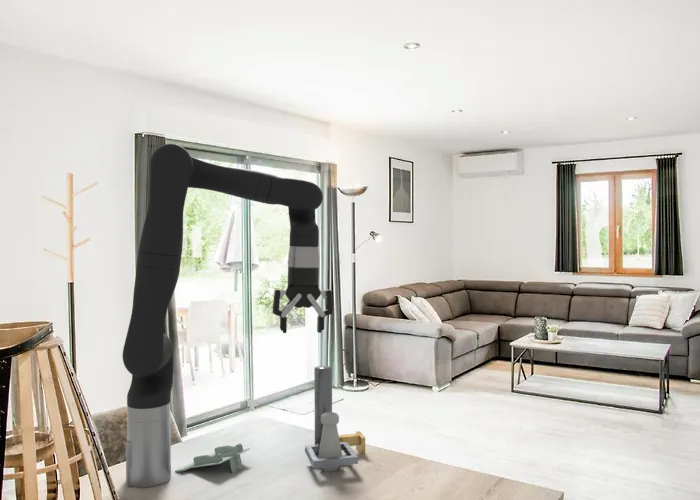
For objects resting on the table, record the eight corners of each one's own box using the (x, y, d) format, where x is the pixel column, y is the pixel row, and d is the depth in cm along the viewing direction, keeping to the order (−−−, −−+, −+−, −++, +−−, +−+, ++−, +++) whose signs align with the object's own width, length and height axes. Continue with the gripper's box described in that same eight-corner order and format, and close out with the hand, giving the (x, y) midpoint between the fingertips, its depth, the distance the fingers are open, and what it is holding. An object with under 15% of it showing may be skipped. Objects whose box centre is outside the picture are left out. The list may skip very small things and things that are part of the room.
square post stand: (313, 478, 130) (313, 381, 130) (300, 451, 147) (300, 365, 147) (378, 471, 134) (378, 377, 134) (358, 446, 151) (358, 362, 151)
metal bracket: (256, 437, 142) (214, 457, 129) (261, 461, 141) (219, 484, 128) (213, 444, 148) (169, 464, 135) (218, 467, 148) (174, 489, 134)
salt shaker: (332, 461, 141) (332, 408, 140) (347, 468, 136) (347, 413, 136) (313, 467, 137) (312, 413, 137) (327, 475, 132) (327, 418, 132)
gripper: (276, 265, 134) (274, 335, 134) (335, 266, 138) (334, 334, 138) (272, 264, 141) (270, 330, 142) (329, 265, 145) (327, 329, 145)
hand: (302, 332), depth 140 cm, fingers open, 8 cm apart
